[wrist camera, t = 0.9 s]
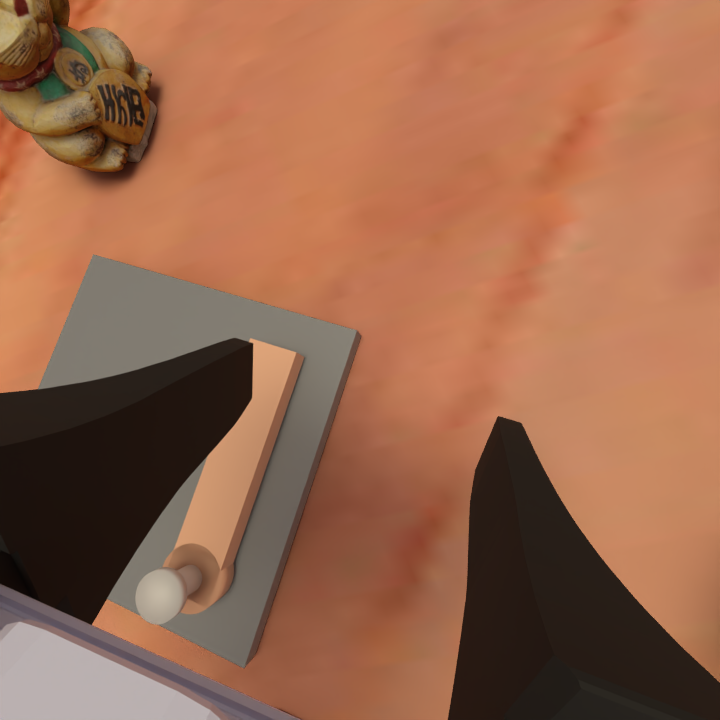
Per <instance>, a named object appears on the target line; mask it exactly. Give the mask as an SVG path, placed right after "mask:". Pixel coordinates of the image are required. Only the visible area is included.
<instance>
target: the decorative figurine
mask: <svg viewBox="0 0 720 720" xmlns="http://www.w3.org/2000/svg"><path fill="white" fill-rule="evenodd" d="M69 12H70V7H69V1H68V0H0V109H1V111H2V112H3V114H4V115H5V117H6V118H7V119H8V120H10V121H11V122H12V123H13V124H14V125H15V126H17V127H18V128H20V129H22V130H24V131H26V132H29V133H30V134H31V135H32V137H33V138H34V140H35V141H36V142H37V143H38V144H39V145H40V146H41V147H42V148H43V149H44V150H45V151H46V152H47V153H48V154H49V155H50V156H52V157H54V158H55V159H57V160H59V161H61V162H64V163H66V164H70V165H73V166H77V167H80V168H84V169H87V170H91V171H97V172H117V171H120V170H122V169H123V167H124V166H123V164H126V162H127V161H130V162H139V161H140V160H141V157H142V154H143V152H144V149H145V148H146V146H147V145H148V142H147V141H148V138H149V135H150V133H151V129H152V126H153V123H154V120H155V116H156V114H157V108H156V106H155V105H154V103H153V102H152V101H150V100H149V99H148V97H147V96H146V94H147V93H148V92H149V90H150V88H149V87H150V84H151V80H150V78H151V76H152V73H151V71H150V70H149V69H148V67H146V66H145V65H142V64H140V63H137V62H135V61H134V59H133V56H132V54H131V52H130V50H129V49H128V47H127V46H126V45H125V43H124V42H123V41H122V40H121V39H120V38H119V37H118V36H116V35H115V34H114V33H112V32H110V31H109V30H107V29H104V28H95V27H91V28H88V29H84V30H82V31H80V32H79V31H77V30H75V29H73V28H70V27H68V22H69Z"/></svg>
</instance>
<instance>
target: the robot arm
mask: <svg viewBox="0 0 720 720" xmlns="http://www.w3.org/2000/svg"><path fill="white" fill-rule="evenodd" d="M252 389H253V343H251V342H248V341H244V340H241V339H238V338H232V339H228V340H225V341H222V342H218V343H216V344H213V345H210V346H207V347H204V348H201V349H198V350H196V351H193V352H190V353H187V354H184V355H181V356H178V357H175V358H173V359H170V360H166V361H163V362H160V363H157V364H153V365H150V366H147V367H144V368H140V369H137V370H134V371H130V372H126V373H122V374H118V375H114V376H110V377H106V378H101V379H97V380H92V381H87V382H81V383H75V384H69V385H63V386H57V387H51V388H44V389H36V390H28V391H19V392H8V393H0V720H301V719H299V718H296V717H294V716H292V715H290V714H287V713H285V712H283V711H281V710H279V709H276V708H274V707H272V706H270V705H267V704H265V703H263V702H261V701H259V700H256V699H254V698H252V697H250V696H248V695H245V694H243V693H241V692H239V691H236V690H234V689H232V688H230V687H228V686H225V685H223V684H221V683H219V682H216V681H214V680H212V679H210V678H208V677H205V676H203V675H201V674H199V673H197V672H194V671H192V670H190V669H188V668H185V667H183V666H181V665H179V664H177V663H174V662H172V661H170V660H168V659H166V658H163V657H161V656H159V655H157V654H154V653H152V652H150V651H148V650H146V649H143V648H141V647H139V646H137V645H134V644H132V643H130V642H128V641H126V640H123V639H121V638H119V637H117V636H115V635H112V634H110V633H108V632H106V631H103V630H101V629H99V628H97V627H95V626H92V623H93V622H94V620H95V618H96V617H97V615H98V613H99V611H100V610H101V608H102V606H103V605H104V603H105V601H106V599H107V598H108V596H109V594H110V593H111V591H112V589H113V588H114V586H115V584H116V583H117V581H118V579H119V578H120V576H121V575H122V573H123V571H124V570H125V568H126V567H127V565H128V563H129V562H130V560H131V559H132V557H133V556H134V554H135V552H136V551H137V549H138V548H139V546H140V545H141V543H142V542H143V540H144V539H145V537H146V536H147V534H148V533H149V531H150V530H151V528H152V527H153V525H154V524H155V522H156V521H157V519H158V518H159V516H160V515H161V514H162V512H163V511H164V509H165V508H166V507H167V505H168V504H169V502H170V501H171V500H172V498H173V497H174V495H175V494H176V493H177V491H178V490H179V489H180V487H181V486H182V485H183V484H184V482H185V481H186V480H187V479H188V478H189V476H190V475H191V474H192V473H193V472H194V471H195V470H196V469H197V467H198V466H199V465H200V464H201V463H202V462H203V461H204V459H205V458H206V457H207V456H208V455H209V454H210V453H211V452H212V450H213V449H214V448H215V447H216V446H217V445H218V444H219V443H220V441H221V440H222V439H223V438H224V437H225V436H226V434H227V433H228V432H229V431H230V430H231V429H232V427H233V426H234V425H235V424H236V422H237V421H238V419H239V418H240V417H241V415H242V414H243V412H244V410H245V409H246V407H247V406H248V404H249V403H250V401H251V399H252ZM448 720H720V682H718V681H717V680H716V679H715V678H714V677H713V676H712V675H711V674H710V673H709V672H708V671H707V670H706V669H705V668H703V667H702V666H701V665H700V664H699V663H698V662H697V661H696V660H695V659H694V658H693V657H692V656H691V655H690V654H688V653H687V652H686V651H685V650H684V649H683V648H682V647H681V646H680V645H679V644H678V643H677V642H676V641H675V640H674V639H673V638H672V637H671V636H670V635H669V634H668V633H667V632H666V631H665V629H664V628H663V627H662V626H661V625H660V624H659V623H658V622H657V621H656V620H655V619H654V618H653V617H652V616H651V615H650V614H649V613H648V612H647V611H646V610H645V609H644V607H643V606H642V605H641V604H640V603H639V602H638V601H637V600H636V599H635V598H634V596H633V595H632V594H631V593H630V592H629V591H628V590H627V588H626V587H625V586H624V585H623V584H622V582H621V581H620V580H619V579H618V578H617V577H616V575H615V574H614V573H613V572H612V571H611V569H610V568H609V567H608V566H607V565H606V563H605V562H604V561H603V560H602V558H601V557H600V556H599V554H598V553H597V552H596V550H595V549H594V548H593V546H592V545H591V544H590V542H589V541H588V540H587V538H586V537H585V535H584V534H583V533H582V531H581V530H580V529H579V527H578V526H577V524H576V523H575V521H574V520H573V518H572V517H571V515H570V514H569V512H568V510H567V509H566V507H565V506H564V504H563V502H562V501H561V499H560V497H559V496H558V494H557V492H556V491H555V489H554V487H553V485H552V483H551V481H550V480H549V478H548V476H547V474H546V472H545V470H544V468H543V467H542V465H541V463H540V461H539V459H538V457H537V455H536V453H535V450H534V448H533V446H532V444H531V442H530V440H529V438H528V436H527V434H526V431H525V429H524V427H523V426H522V424H521V423H520V422H516V421H513V420H510V419H506V418H503V417H499V416H498V417H497V420H496V422H495V424H494V427H493V429H492V432H491V434H490V436H489V439H488V441H487V443H486V446H485V448H484V451H483V453H482V455H481V458H480V460H479V463H478V465H477V467H476V470H475V475H474V481H473V487H472V494H471V500H470V516H469V545H468V576H467V592H466V602H465V609H464V617H463V624H462V632H461V639H460V645H459V652H458V659H457V666H456V673H455V679H454V685H453V692H452V698H451V704H450V710H449V716H448Z"/></svg>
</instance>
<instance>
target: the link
mask: <svg viewBox="0 0 720 720" xmlns="http://www.w3.org/2000/svg"><path fill="white" fill-rule="evenodd" d="M249 342H251V343H253V389H252V399H251V401H250V403H249V404H248V406H247V407H246V409H245V410H244V412H243V414H242V415H241V417H240V418H239V419H238V421H237V422H236V424H235V425H234V426H233V427H232V429H231V430H230V431H229V432H228V433H227V434H226V436H225V437H224V438H223V439H222V440H221V441H220V443H219V444H218V445H217V446H216V447H215V448H214V449H213V450H212V452H211V453H210V454H209V455H208V457H207V459H206V462H205V465H204V468H203V470H202V473H201V476H200V479H199V482H198V484H197V487H196V490H195V493H194V495H193V498H192V501H191V504H190V506H189V509H188V512H187V515H186V518H185V520H184V523H183V526H182V529H181V531H180V534H179V537H178V540H177V542H176V545H175V548H174V550H173V551H172V552H171V553H170V554H169V555H168V557H167V558H166V560H165V562H164V564H163V567H162V568H159V569H156V570H154V571H152V572H150V573H148V574H147V575H146V576H144V577H143V578H142V580H141V581H140V583H139V584H138V587H137V590H136V596H135V601H136V607H137V610H138V612H139V614H140V615H141V617H142V618H143V619H144V620H146V621H147V622H149V623H151V624H157V625H158V624H163V623H166V622H168V621H169V620H171V619H172V618H174V617H175V616H176V615H178V614H179V613H180V612H181V613H184V614H197V613H200V612H202V611H204V610H206V609H207V608H208V607H210V606H211V605H212V604H214V603H215V602H216V601H218V600H219V599H220V598H222V597H223V596H224V595H225V594H226V592H227V591H228V590H229V588H230V586H231V583H232V580H233V576H234V564H233V563H234V560H235V557H236V554H237V551H238V548H239V545H240V542H241V539H242V536H243V534H244V531H245V528H246V525H247V522H248V519H249V516H250V513H251V510H252V508H253V505H254V502H255V499H256V496H257V493H258V490H259V487H260V484H261V481H262V479H263V476H264V473H265V470H266V467H267V464H268V461H269V458H270V455H271V453H272V450H273V447H274V444H275V441H276V438H277V435H278V432H279V429H280V426H281V424H282V421H283V418H284V415H285V412H286V409H287V406H288V403H289V400H290V398H291V395H292V392H293V389H294V386H295V383H296V380H297V377H298V374H299V371H300V369H301V366H302V363H303V360H304V356H302V355H300V354H298V353H297V352H293V351H290V350H287V349H284V348H281V347H277V346H274V345H271V344H268V343H265V342H261V341H258V340H255V339H252V338H250V340H249Z"/></svg>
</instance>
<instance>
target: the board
mask: <svg viewBox="0 0 720 720" xmlns="http://www.w3.org/2000/svg"><path fill="white" fill-rule="evenodd" d="M232 338H238V339H241V340H244V341H248V342H249V340H250V338H252V339H255V340H258V341H261V342H265V343H268V344H271V345H274V346H277V347H281V348H284V349H287V350H290V351H293V352H297V353H298V354H300V355H302V356H304V360H303V363H302V366H301V369H300V371H299V374H298V377H297V380H296V383H295V386H294V389H293V392H292V395H291V398H290V400H289V403H288V406H287V409H286V412H285V415H284V418H283V421H282V424H281V426H280V429H279V432H278V435H277V438H276V441H275V444H274V447H273V450H272V453H271V455H270V458H269V461H268V464H267V467H266V470H265V473H264V476H263V479H262V481H261V484H260V487H259V490H258V493H257V496H256V499H255V502H254V505H253V508H252V510H251V513H250V516H249V519H248V522H247V525H246V528H245V531H244V534H243V536H242V539H241V542H240V545H239V548H238V551H237V554H236V557H235V560H234V563H233V564H234V576H233V580H232V583H231V586H230V588H229V590H228V591H227V592H226V594H225V595H224V596H223V597H222V598H220V599H219V600H218V601H216V602H215V603H214V604H212V605H211V606H210V607H208V608H207V609H206V610H204V611H202V612H200V613H197V614H184V613H181V612H180V613H179V614H178V615H176V616H175V617H174V618H172V619H171V620H169V621H168V622H166V623H163V624H158V625H159V626H161V627H163V628H165V629H167V630H169V631H171V632H173V633H175V634H177V635H179V636H181V637H183V638H185V639H187V640H189V641H191V642H193V643H195V644H197V645H199V646H201V647H203V648H205V649H207V650H209V651H211V652H213V653H215V654H217V655H219V656H221V657H223V658H225V659H227V660H228V661H230V662H232V663H234V664H236V665H238V666H240V667H242V668H245V667H246V665H247V664H248V663H249V662H250V661H251V659H252V658H253V657H254V656H255V654H256V651H257V648H258V645H259V642H260V639H261V636H262V633H263V630H264V627H265V624H266V621H267V618H268V615H269V612H270V609H271V606H272V603H273V600H274V597H275V594H276V591H277V588H278V585H279V582H280V579H281V576H282V573H283V570H284V567H285V564H286V561H287V558H288V555H289V552H290V549H291V546H292V543H293V540H294V537H295V534H296V531H297V528H298V525H299V522H300V519H301V516H302V513H303V510H304V507H305V504H306V501H307V498H308V495H309V492H310V489H311V486H312V483H313V480H314V477H315V474H316V471H317V468H318V465H319V462H320V459H321V456H322V453H323V450H324V447H325V444H326V441H327V438H328V435H329V432H330V429H331V426H332V423H333V420H334V417H335V414H336V411H337V408H338V405H339V402H340V399H341V396H342V393H343V390H344V387H345V384H346V381H347V378H348V375H349V372H350V369H351V366H352V363H353V360H354V357H355V354H356V351H357V348H358V345H359V342H360V339H361V335H360V334H359V332H358V331H357V330H354V329H350V328H347V327H343V326H340V325H336V324H333V323H329V322H326V321H322V320H319V319H315V318H312V317H308V316H305V315H302V314H298V313H295V312H291V311H288V310H284V309H281V308H277V307H274V306H270V305H267V304H263V303H260V302H257V301H253V300H250V299H246V298H243V297H239V296H236V295H232V294H229V293H225V292H222V291H218V290H215V289H211V288H208V287H205V286H201V285H198V284H194V283H191V282H187V281H184V280H180V279H177V278H173V277H170V276H166V275H163V274H160V273H156V272H153V271H149V270H146V269H142V268H139V267H135V266H132V265H128V264H125V263H121V262H118V261H114V260H111V259H108V258H104V257H101V256H97V255H94V254H93V256H92V259H91V261H90V264H89V266H88V269H87V271H86V273H85V276H84V278H83V281H82V283H81V286H80V288H79V290H78V293H77V295H76V298H75V300H74V303H73V305H72V308H71V310H70V312H69V315H68V317H67V320H66V322H65V325H64V327H63V329H62V332H61V334H60V337H59V339H58V342H57V344H56V346H55V349H54V351H53V354H52V356H51V359H50V361H49V363H48V366H47V368H46V371H45V373H44V376H43V378H42V381H41V383H40V385H39V388H38V389H44V388H51V387H57V386H63V385H69V384H75V383H81V382H87V381H92V380H97V379H101V378H106V377H110V376H114V375H118V374H122V373H126V372H130V371H134V370H137V369H140V368H144V367H147V366H150V365H153V364H157V363H160V362H163V361H166V360H170V359H173V358H175V357H178V356H181V355H184V354H187V353H190V352H193V351H196V350H198V349H201V348H204V347H207V346H210V345H213V344H216V343H218V342H222V341H225V340H228V339H232ZM207 457H208V456H207ZM207 457H206V458H205V459H204V461H203V462H202V463H201V464H200V465H199V466H198V467H197V469H196V470H195V471H194V472H193V473H192V474H191V475H190V476H189V478H188V479H187V480H186V481H185V482H184V484H183V485H182V486H181V487H180V489H179V490H178V491H177V493H176V494H175V495H174V497H173V498H172V500H171V501H170V502H169V504H168V505H167V507H166V508H165V509H164V511H163V512H162V514H161V515H160V516H159V518H158V519H157V521H156V522H155V524H154V525H153V527H152V528H151V530H150V531H149V533H148V534H147V536H146V537H145V539H144V540H143V542H142V543H141V545H140V546H139V548H138V549H137V551H136V552H135V554H134V556H133V557H132V559H131V560H130V562H129V563H128V565H127V567H126V568H125V570H124V571H123V573H122V575H121V576H120V578H119V579H118V581H117V583H116V584H115V586H114V588H113V589H112V591H111V593H110V594H109V596H108V598H107V599H108V600H110V601H112V602H114V603H116V604H118V605H120V606H122V607H124V608H126V609H128V610H130V611H132V612H134V613H136V614H138V615H140V614H139V612H138V610H137V607H136V601H135V596H136V590H137V587H138V584H139V583H140V581H141V580H142V578H143V577H144V576H146V575H147V574H148V573H150V572H152V571H154V570H156V569H159V568H162V567H163V564H164V562H165V560H166V558H167V557H168V555H169V554H170V553H171V552H172V551H173V550H174V548H175V545H176V542H177V540H178V537H179V534H180V531H181V529H182V526H183V523H184V520H185V518H186V515H187V512H188V509H189V506H190V504H191V501H192V498H193V495H194V493H195V490H196V487H197V484H198V482H199V479H200V476H201V473H202V470H203V468H204V465H205V462H206V459H207ZM140 616H141V615H140Z"/></svg>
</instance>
